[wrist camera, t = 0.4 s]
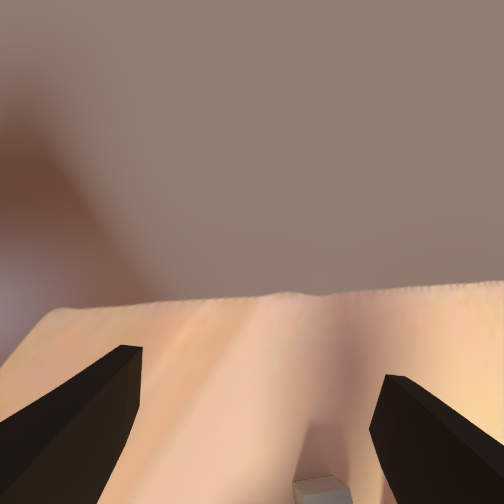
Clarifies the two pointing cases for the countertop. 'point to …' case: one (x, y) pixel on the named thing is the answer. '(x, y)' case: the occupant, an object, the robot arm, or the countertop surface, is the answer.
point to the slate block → (321, 491)
